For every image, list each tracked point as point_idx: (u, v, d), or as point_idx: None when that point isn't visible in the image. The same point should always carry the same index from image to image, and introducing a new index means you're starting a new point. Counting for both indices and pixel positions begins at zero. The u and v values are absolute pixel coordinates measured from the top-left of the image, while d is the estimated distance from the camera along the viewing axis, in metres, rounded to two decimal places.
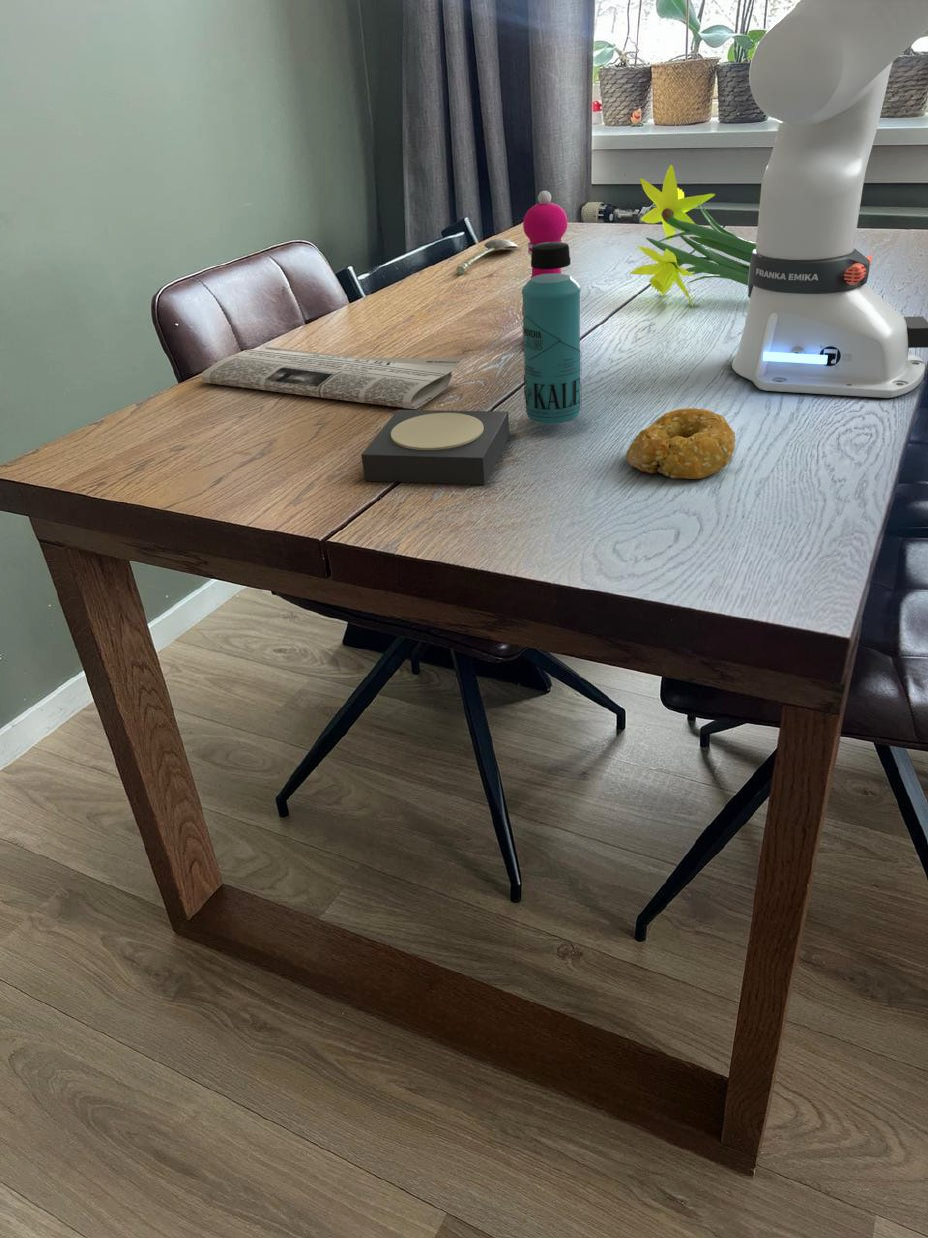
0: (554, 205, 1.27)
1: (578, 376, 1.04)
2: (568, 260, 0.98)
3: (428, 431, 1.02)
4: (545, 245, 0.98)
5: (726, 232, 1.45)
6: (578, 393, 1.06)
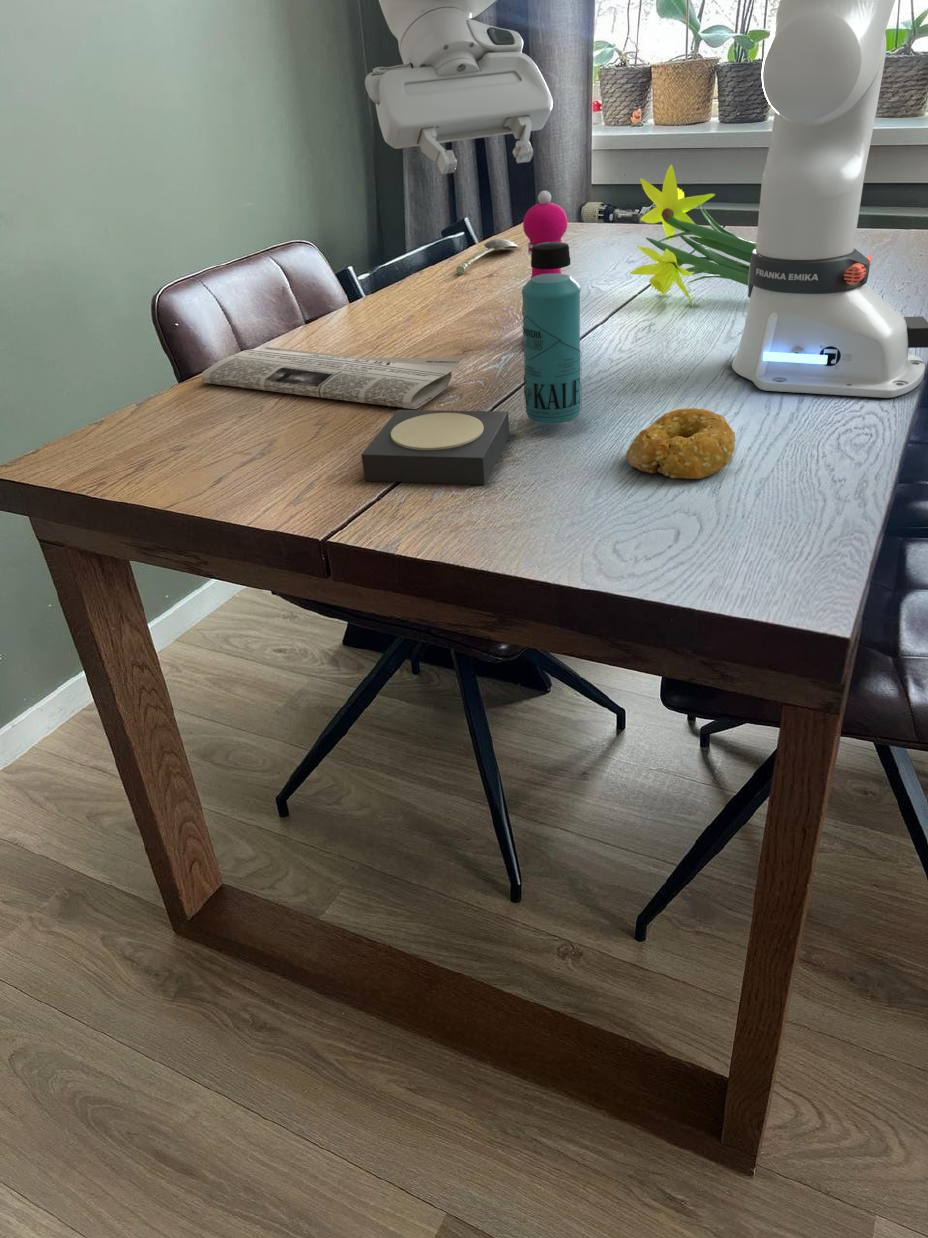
0: (554, 205, 1.27)
1: (578, 376, 1.04)
2: (568, 260, 0.98)
3: (428, 431, 1.02)
4: (545, 245, 0.98)
5: (726, 232, 1.45)
6: (578, 393, 1.06)
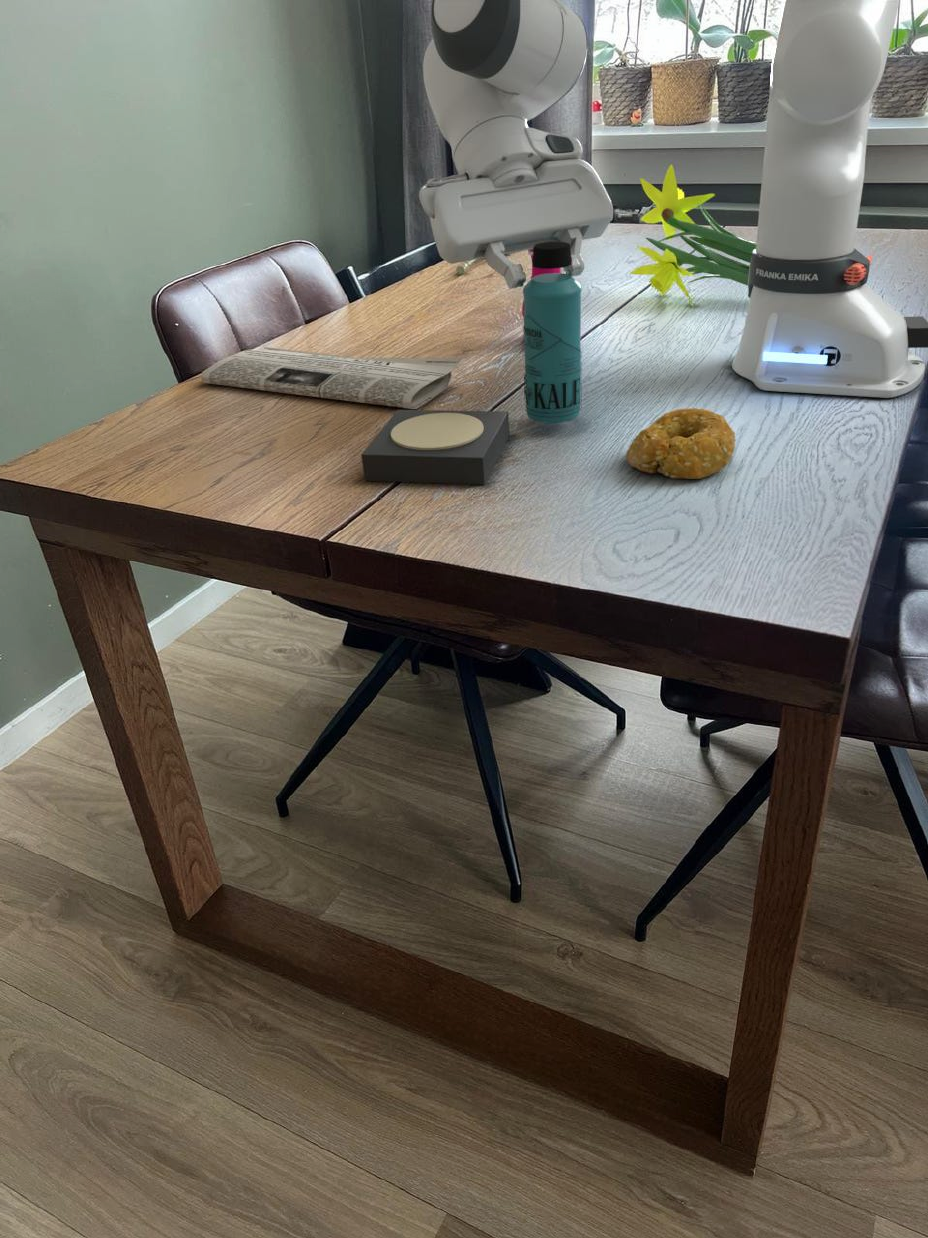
0: None
1: (578, 376, 1.04)
2: (569, 260, 0.98)
3: (428, 431, 1.02)
4: (546, 244, 0.98)
5: (726, 232, 1.45)
6: (578, 393, 1.06)
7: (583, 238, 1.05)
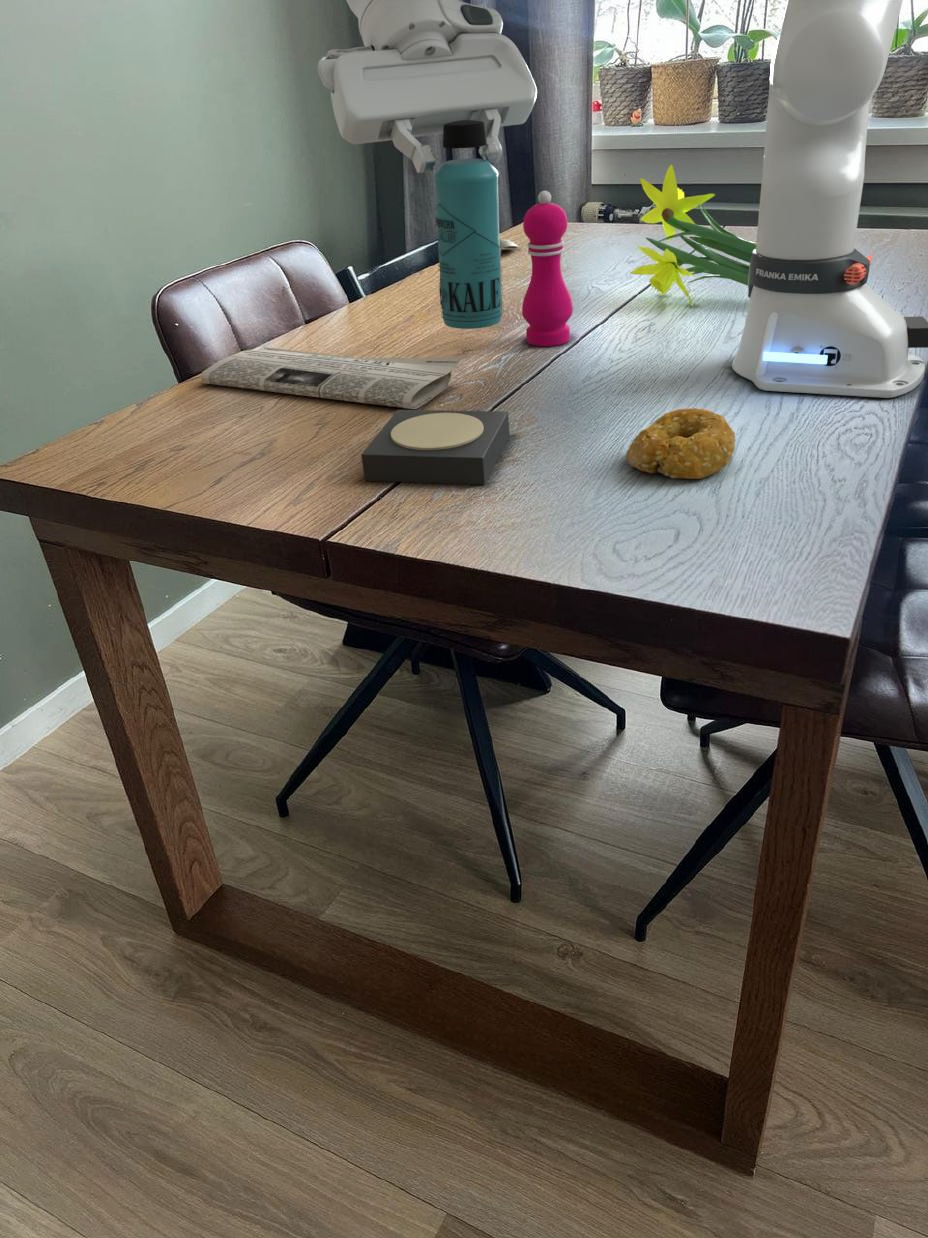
0: (554, 205, 1.27)
1: (498, 276, 0.95)
2: (483, 139, 0.88)
3: (428, 431, 1.02)
4: (457, 122, 0.88)
5: (726, 232, 1.45)
6: (498, 296, 0.96)
7: (504, 124, 0.95)
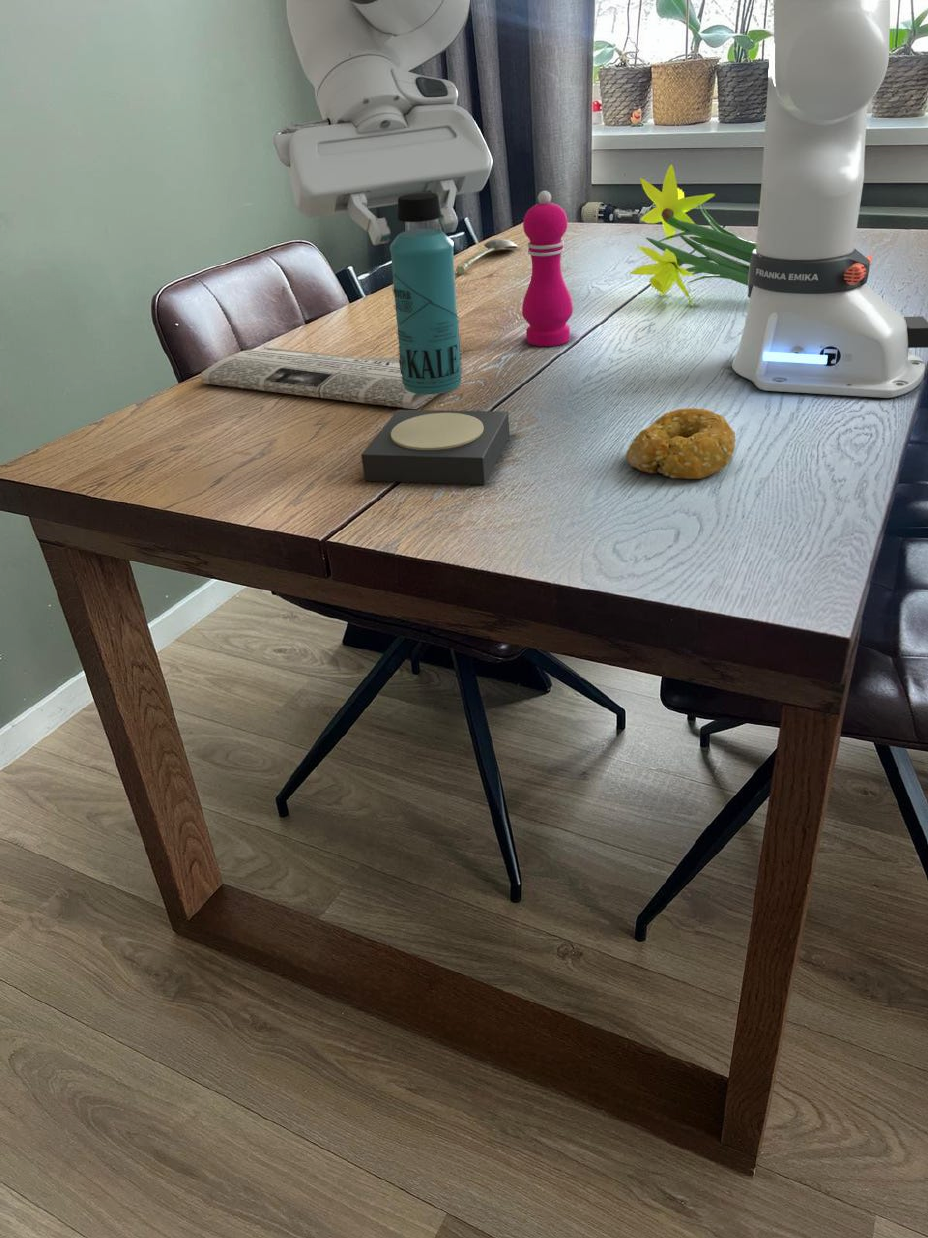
0: (554, 205, 1.27)
1: (455, 342, 0.96)
2: (437, 212, 0.89)
3: (428, 431, 1.02)
4: (411, 195, 0.89)
5: (726, 232, 1.45)
6: (457, 361, 0.97)
7: (461, 192, 0.96)
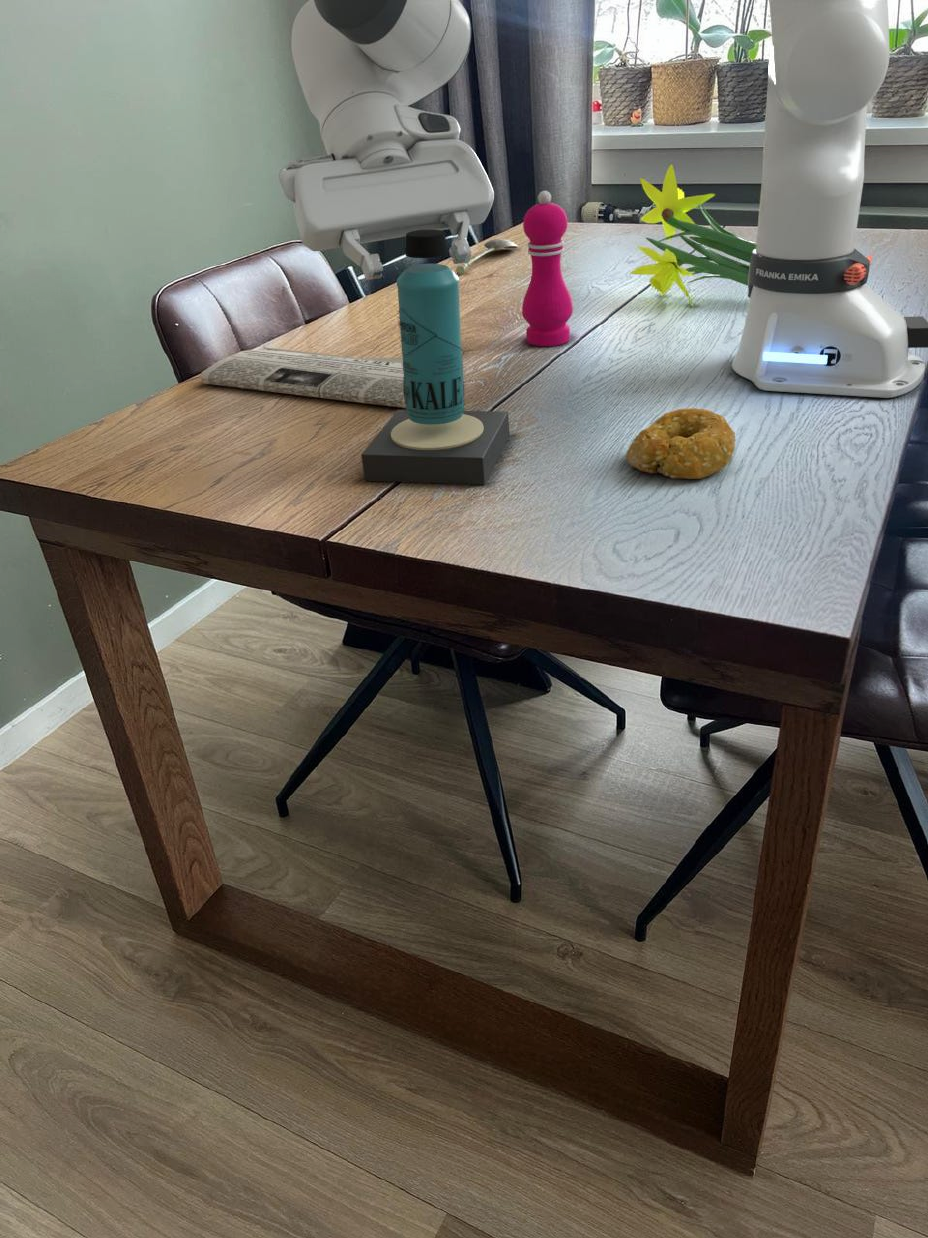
0: (554, 205, 1.27)
1: (459, 375, 0.97)
2: (444, 249, 0.91)
3: (428, 431, 1.02)
4: (419, 232, 0.91)
5: (726, 232, 1.45)
6: (460, 393, 0.99)
7: None
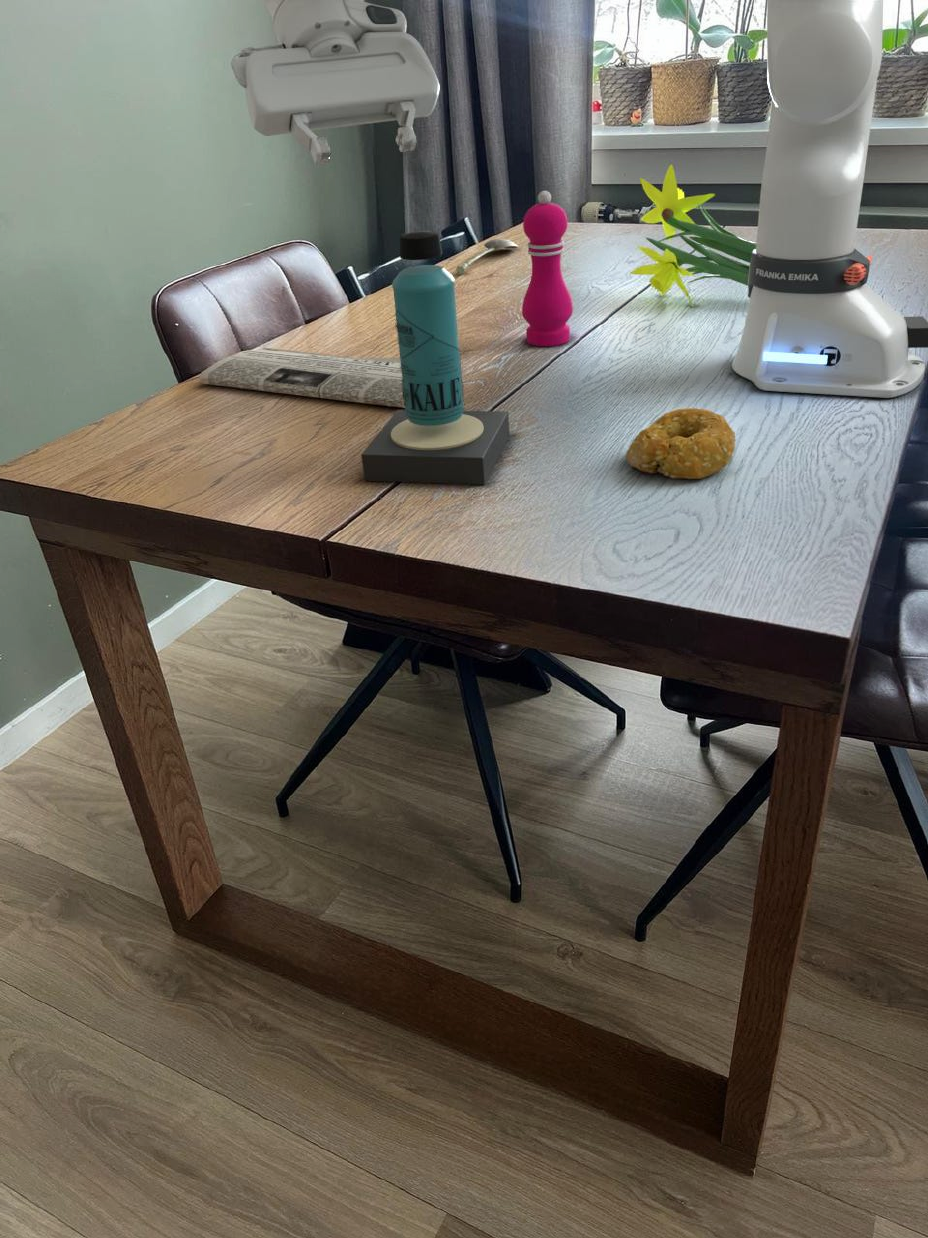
0: (554, 205, 1.27)
1: (457, 375, 0.97)
2: (438, 250, 0.91)
3: (428, 431, 1.02)
4: (413, 234, 0.91)
5: (726, 232, 1.45)
6: (459, 393, 0.98)
7: None
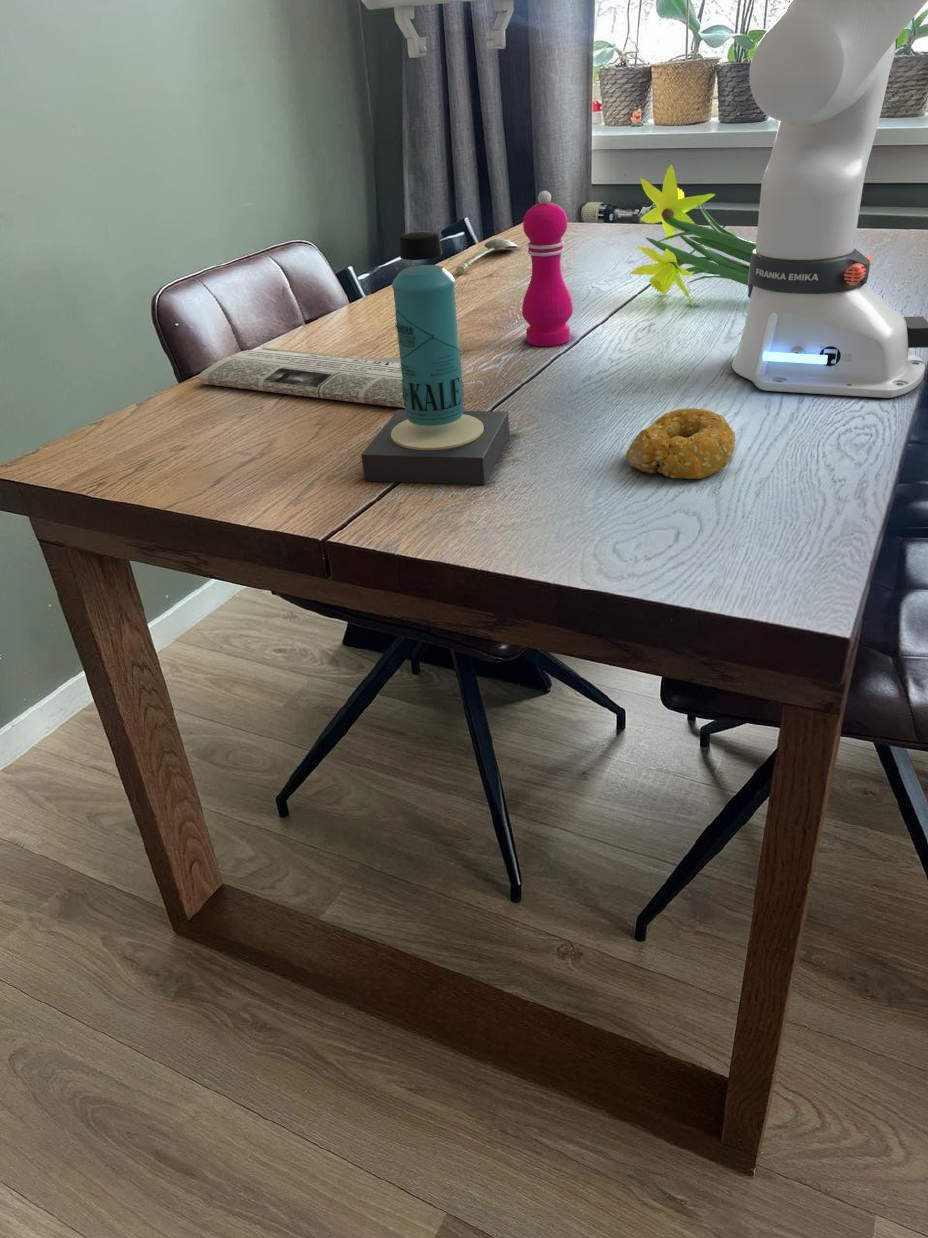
0: (554, 205, 1.27)
1: (457, 375, 0.97)
2: (438, 250, 0.91)
3: (428, 431, 1.02)
4: (413, 234, 0.91)
5: (726, 232, 1.45)
6: (459, 393, 0.98)
7: None
